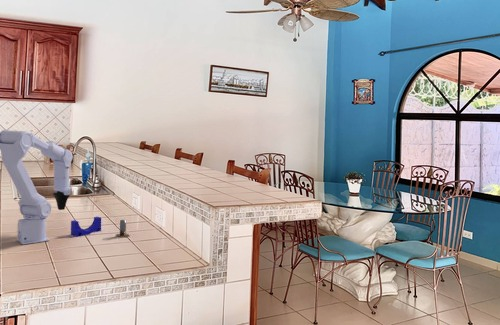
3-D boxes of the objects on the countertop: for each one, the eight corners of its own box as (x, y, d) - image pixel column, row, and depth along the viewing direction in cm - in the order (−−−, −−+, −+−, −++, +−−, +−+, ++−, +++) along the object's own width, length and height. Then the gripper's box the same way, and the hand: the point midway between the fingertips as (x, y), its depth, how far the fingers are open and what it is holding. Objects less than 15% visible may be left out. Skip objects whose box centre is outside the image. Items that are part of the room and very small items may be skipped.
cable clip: (76, 237, 162) (77, 222, 161) (70, 235, 164) (71, 220, 164) (103, 232, 171) (103, 218, 171) (97, 230, 174) (97, 216, 173)
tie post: (120, 237, 163) (120, 222, 163) (116, 235, 166) (116, 220, 166) (129, 236, 166) (129, 220, 165) (125, 234, 169) (125, 218, 168)
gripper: (77, 179, 164) (77, 211, 165) (65, 174, 174) (65, 205, 175) (59, 180, 159) (59, 213, 160) (48, 175, 169) (48, 207, 171)
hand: (61, 209), depth 167 cm, fingers closed
